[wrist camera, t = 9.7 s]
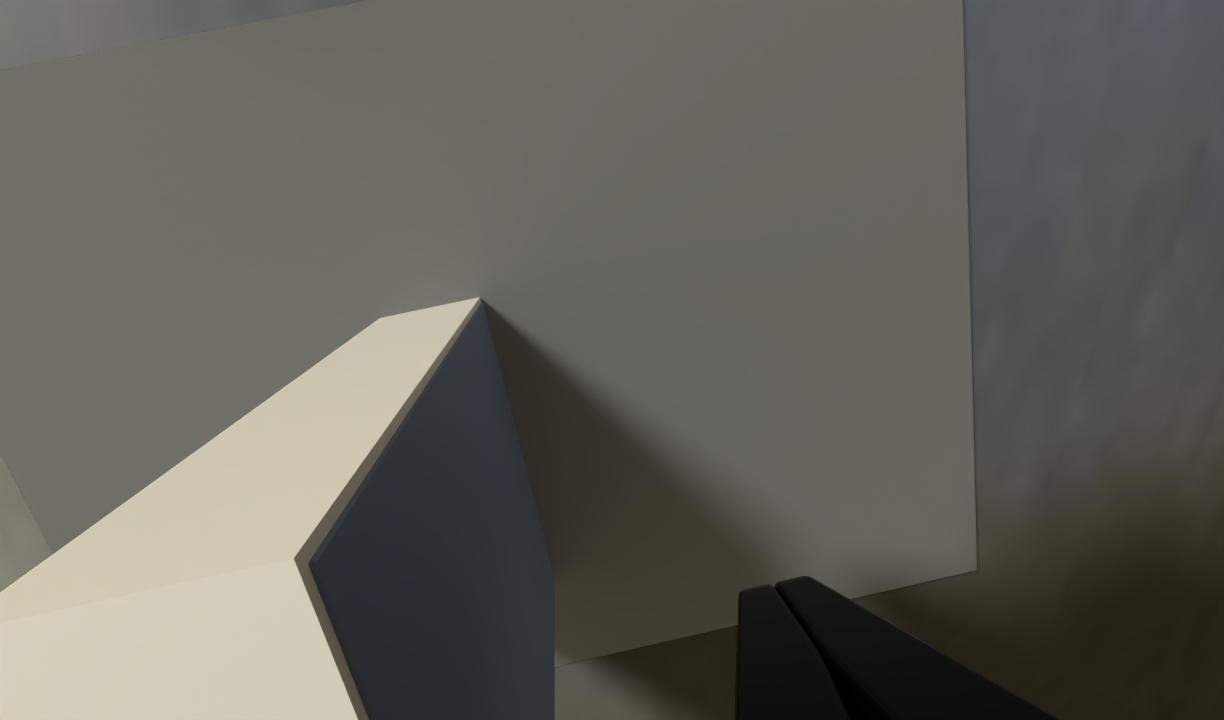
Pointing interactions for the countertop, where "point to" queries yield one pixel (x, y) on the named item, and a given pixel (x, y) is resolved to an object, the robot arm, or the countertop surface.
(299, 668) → the card box
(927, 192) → the mat
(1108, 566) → the countertop surface
